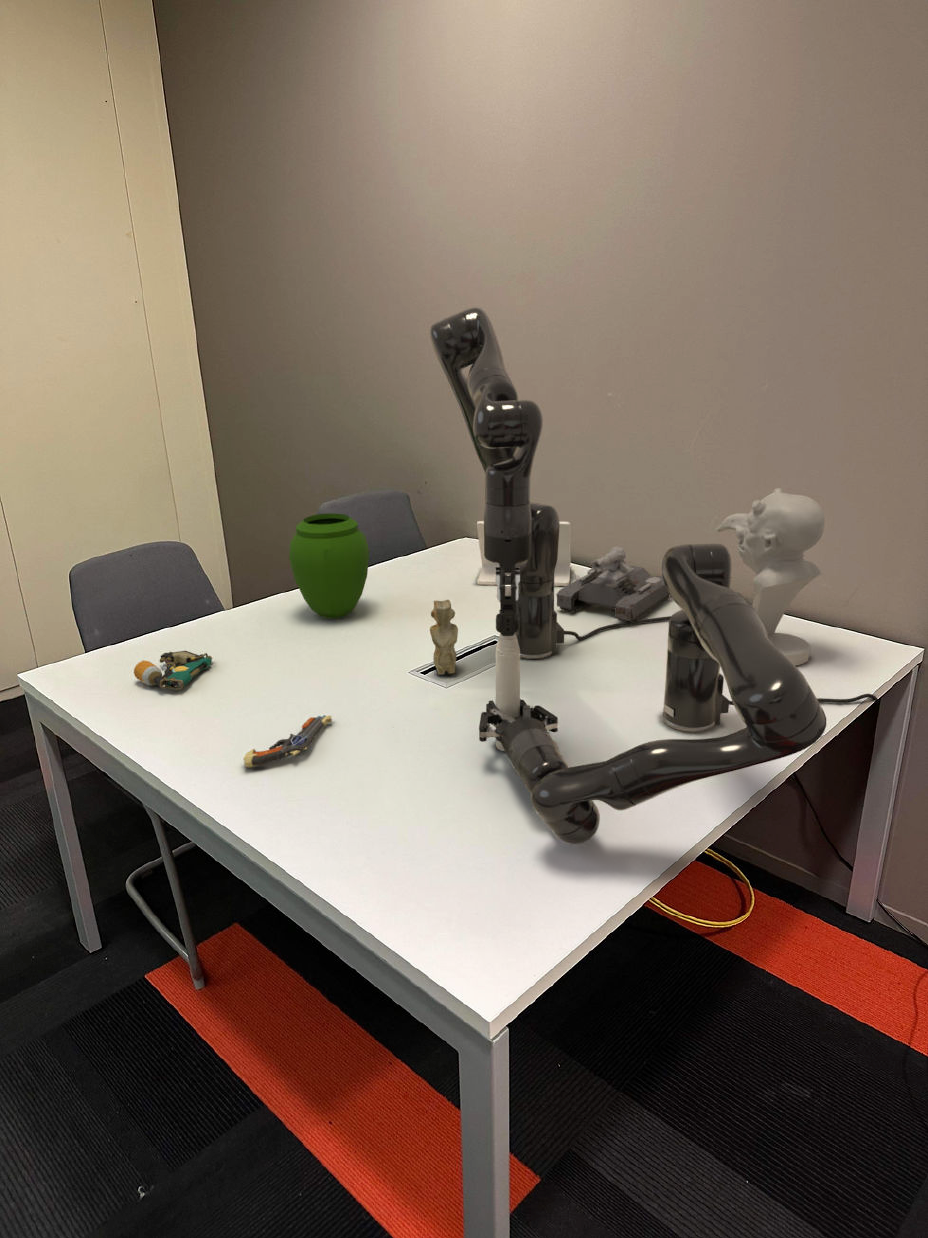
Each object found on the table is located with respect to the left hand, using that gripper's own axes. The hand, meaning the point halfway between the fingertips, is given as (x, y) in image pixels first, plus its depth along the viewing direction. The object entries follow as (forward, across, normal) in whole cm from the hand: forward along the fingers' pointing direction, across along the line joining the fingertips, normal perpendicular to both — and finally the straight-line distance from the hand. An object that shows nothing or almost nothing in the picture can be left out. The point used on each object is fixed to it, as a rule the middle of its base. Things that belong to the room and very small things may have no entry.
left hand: (507, 630), depth 141 cm
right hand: (+15, -3, -1) cm, 15 cm away
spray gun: (+22, -31, -70) cm, 79 cm away
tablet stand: (+22, -97, +6) cm, 99 cm away
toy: (+22, -71, +28) cm, 80 cm away
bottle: (+22, 0, 0) cm, 22 cm away
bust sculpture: (+21, -40, +55) cm, 71 cm away
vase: (+22, -67, -43) cm, 83 cm away
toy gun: (+22, 0, -39) cm, 44 cm away
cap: (-2, 0, 0) cm, 2 cm away
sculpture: (+22, -32, -13) cm, 41 cm away
